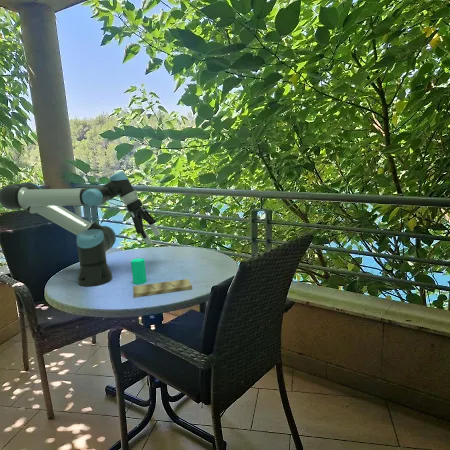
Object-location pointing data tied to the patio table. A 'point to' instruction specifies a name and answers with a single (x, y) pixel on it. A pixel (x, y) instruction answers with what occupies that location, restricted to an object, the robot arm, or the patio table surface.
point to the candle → (138, 271)
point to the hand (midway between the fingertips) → (154, 239)
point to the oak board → (161, 288)
